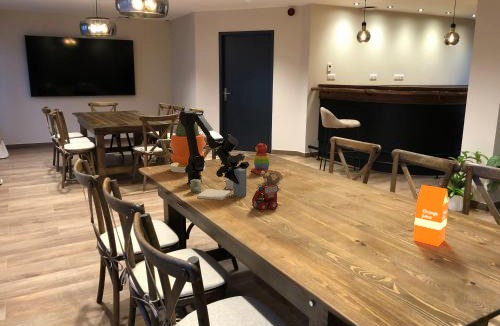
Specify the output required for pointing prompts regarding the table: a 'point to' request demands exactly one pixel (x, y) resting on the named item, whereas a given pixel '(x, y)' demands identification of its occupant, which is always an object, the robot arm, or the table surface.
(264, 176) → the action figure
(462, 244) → the table surface
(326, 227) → the table surface
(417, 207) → the orange juice
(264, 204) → the toy fire truck
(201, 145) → the potted cactus
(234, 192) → the tall block
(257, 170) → the stacking bear
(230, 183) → the white cube
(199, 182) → the sage cylinder
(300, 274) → the table surface
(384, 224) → the table surface
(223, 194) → the plate
